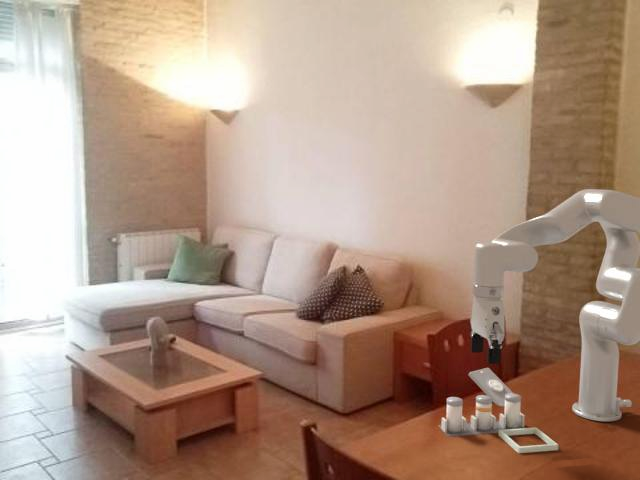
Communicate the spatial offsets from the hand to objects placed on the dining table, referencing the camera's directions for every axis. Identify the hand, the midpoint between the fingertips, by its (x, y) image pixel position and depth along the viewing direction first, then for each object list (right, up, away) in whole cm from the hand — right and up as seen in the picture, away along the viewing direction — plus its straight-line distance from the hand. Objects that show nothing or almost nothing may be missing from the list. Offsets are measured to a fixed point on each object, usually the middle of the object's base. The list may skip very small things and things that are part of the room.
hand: (485, 357), depth 161 cm
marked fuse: (0, -19, +2) cm, 19 cm away
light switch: (+9, -18, +25) cm, 31 cm away
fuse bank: (0, -20, +2) cm, 20 cm away
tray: (+9, -21, -6) cm, 23 cm away
